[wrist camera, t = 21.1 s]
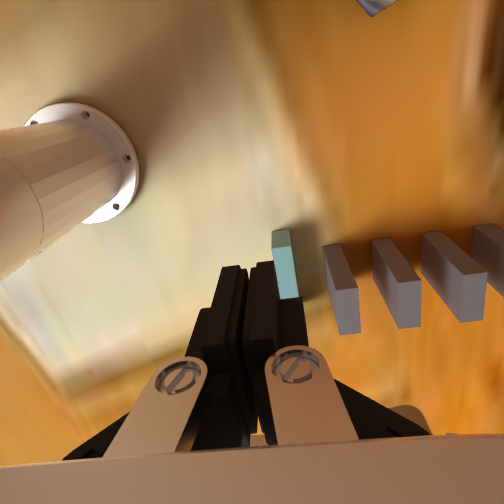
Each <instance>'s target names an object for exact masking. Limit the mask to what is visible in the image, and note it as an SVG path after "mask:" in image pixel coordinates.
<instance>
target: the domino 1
mask: <svg viewBox="0 0 504 504" xmlns="http://www.w3.org/2000/svg"><path fill="white" fill-rule="evenodd" d="M271 249H272V255H273V260H274V264H275V269H276V275H277V281H278V287H279V293H280V299H286V298H295V297H299V291H298V284H297V278H296V271H295V264H294V258H293V251H292V244H291V238H290V231H289V229H285V230H278V231H272V248H271Z"/></svg>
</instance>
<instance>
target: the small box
mask: <svg viewBox="0 0 504 504" xmlns="http://www.w3.org/2000/svg"><path fill="white" fill-rule="evenodd" d="M396 1H397V0H357V2H358V3H359V4H360V5H361V6H362V7H363V8H364V10H365V11H366V12H367V13H368V14H369V16H371V17H373V16H374V15H375V14H377V13H378V12H380V11H382V10H383V9H385V8H386V7H388V6H389V5H391V4H393V3H394V2H396Z"/></svg>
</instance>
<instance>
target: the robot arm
mask: <svg viewBox="0 0 504 504" xmlns="http://www.w3.org/2000/svg"><path fill="white" fill-rule="evenodd" d="M88 112H89V114H90V117H89V116H88V114H87V113H88ZM128 155H129V156H130V158H131V160H129V159H128V157H127V156H128ZM138 183H139V163H138V159H137V155H136V152H135V150H134V148H133V145H132V143H131V141H130V140H129V138H128V137H127V135H126V134H125V132H124V131H123V130H122V129H121V127H120V126H119V125H118V124H117V123H116V122H115V121H114V120H112V119H111V118H110V117H109V116H107V115H106V114H105V113H103V112H101V111H99V110H97V109H95V108H93V107H90V106H87V105H84V104H80V103H72V102H68V103H57V104H52V105H48V106H46V107H44V108H41V109H39V110H38V111H37V112H35V113H34V114H33V115H32V116H31V117H30V118H29V119H28V120H27V122H26V123H25V124H24V126H22V127H17V128H11V129H5V130H0V282H1V281H2V280H3V279H5V278H6V277H7V276H9V275H10V274H11V273H13V272H14V271H15V270H17V269H18V268H20V267H21V266H22V265H24V264H25V263H27V262H28V261H30V260H31V259H32V258H34V257H35V256H37V255H38V254H39V253H41V252H42V251H43V250H45V249H46V248H48V247H49V246H50V245H52V244H53V243H55V242H56V241H57V240H59V239H60V238H62V237H63V236H64V235H66V234H67V233H68V232H70V231H71V230H73V229H74V228H75V227H77V226H78V225H80V224H81V223H87V224H89V223H100V222H104V221H108V220H110V219H112V218H114V217H116V216H117V215H118V214H120V213H121V212H122V211H123V210H124V209H125V208H126V207H127V206H128V205H129V204H130V203H131V201H132V200H133V198H134V196H135V194H136V191H137V188H138ZM117 203H118V204H119V205H120V206H118V204H117ZM258 417H259V422H260V426H261V430H262V433H264V434H265V438H266V442H267V444H268V446H255V447H249V446H250V434H255V433H257V424H258ZM0 504H504V434H452V433H446V435H430V434H429V433H428V432H427V431H426V430H424V429H423V428H421V427H420V426H419V425H417V424H415V423H413V422H412V421H410V420H408V419H406V418H404V417H403V416H401V415H399V414H397V413H395V412H393V411H392V410H390V409H388V408H386V407H384V406H383V405H381V404H379V403H377V402H375V401H374V400H372V399H370V398H368V397H366V396H364V395H363V394H361V393H359V392H357V391H355V390H353V389H352V388H350V387H348V386H346V385H344V384H343V383H341V382H339V381H337V380H335V379H333V376H332V374H331V371H330V369H329V367H328V364H327V362H326V359H325V358H324V356H323V355H322V354H321V353H320V352H319V351H317V350H316V349H314V348H311V347H309V344H308V336H307V329H306V322H305V314H304V307H303V300H302V297H295V298H286V299H280V293H279V287H278V281H277V275H276V269H275V264H274V260H273V261H265V262H258V263H257V265H256V267H254V268H251V271H250V279H249V277H248V272H247V269H241V268H240V265H235V266H228V267H222V270H221V273H220V277H219V280H218V284H217V287H216V291H215V294H214V298H213V301H212V305H211V308H202V309H201V310H200V312H199V315H198V318H197V321H196V324H195V327H194V330H193V333H192V336H191V339H190V342H189V345H188V348H187V351H186V354H185V357H180V358H177V359H174V360H171V361H169V362H167V363H165V364H164V365H162V366H161V367H160V368H158V369H157V370H156V371H155V373H154V374H153V375H152V376H151V378H150V380H149V381H148V383H147V385H146V386H145V388H144V390H143V391H142V393H141V395H140V396H139V398H138V400H137V401H136V403H135V404H134V406H133V408H132V409H131V411H130V412H129V413H127V414H126V415H124V416H123V417H121V418H120V419H118V420H117V421H115V422H114V423H113V424H111V425H110V426H108V427H107V428H105V429H104V430H102V431H101V432H99V433H98V434H96V435H95V436H94V437H92V438H91V439H89V440H88V441H86V442H85V443H83V444H82V445H80V446H79V447H77V448H76V449H75V450H73V451H72V452H71V453H69V454H68V455H67V456H66V457H65V458H63V460H62V461H51V462H39V463H26V464H14V465H2V466H0Z"/></svg>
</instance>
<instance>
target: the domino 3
mask: <svg viewBox="0 0 504 504" xmlns="http://www.w3.org/2000/svg"><path fill="white" fill-rule="evenodd" d="M371 246H372V268H373V279H374V281H375V283H376V285H377V287H378V289H379V291H380V293H381V295H382V297H383V299H384V301H385V303H386V305H387V307H388V309H389V311H390V313H391V315H392V317H393V319H394V321H395V323H396V324H397V326H398V328H399V329H403V328H412V327H421V279H420V278H419V276H418V275H417V274H416V272H415V271H414V270H413V268H412V267H411V266H410V264H409V263H408V262H407V260H406V259H405V258H404V256H403V255H402V254H401V252H400V251H399V250H398V248H397V247H396V246H395V244H394V243H393V242H392V240H391V239H390V238H381V239H374V240H371Z"/></svg>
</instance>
